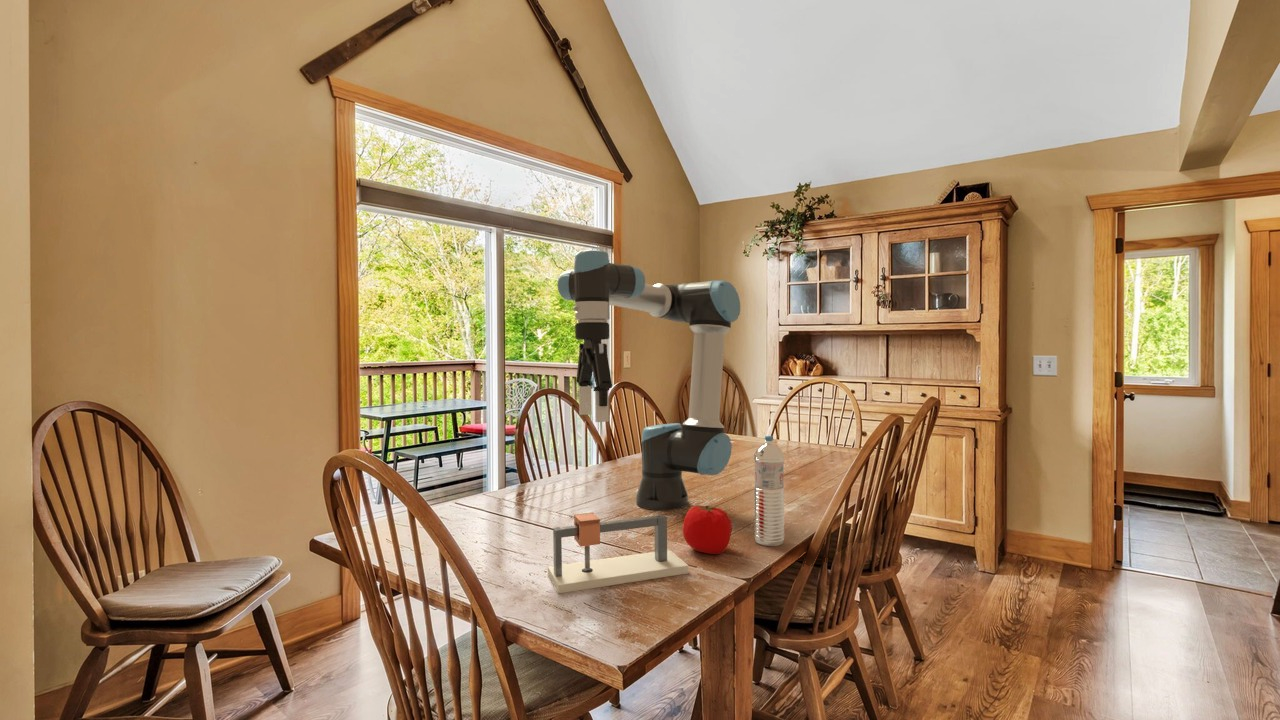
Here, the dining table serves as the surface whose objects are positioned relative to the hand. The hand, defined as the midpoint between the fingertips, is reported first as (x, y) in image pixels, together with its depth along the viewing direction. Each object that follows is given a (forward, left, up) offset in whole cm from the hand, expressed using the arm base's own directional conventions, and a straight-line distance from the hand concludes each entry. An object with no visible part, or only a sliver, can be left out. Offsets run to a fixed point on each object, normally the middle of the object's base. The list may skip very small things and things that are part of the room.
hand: (593, 418), depth 133 cm
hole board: (-1, +12, -31) cm, 33 cm away
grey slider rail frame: (0, +12, -29) cm, 31 cm away
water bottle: (-41, +7, -31) cm, 51 cm away
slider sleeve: (+5, +12, -29) cm, 31 cm away
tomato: (-25, +6, -31) cm, 40 cm away
